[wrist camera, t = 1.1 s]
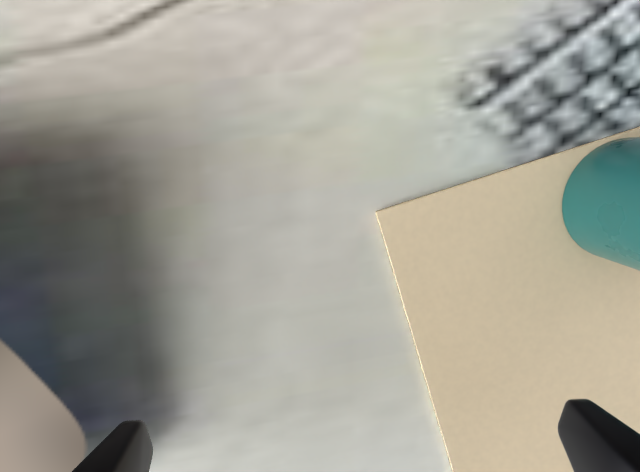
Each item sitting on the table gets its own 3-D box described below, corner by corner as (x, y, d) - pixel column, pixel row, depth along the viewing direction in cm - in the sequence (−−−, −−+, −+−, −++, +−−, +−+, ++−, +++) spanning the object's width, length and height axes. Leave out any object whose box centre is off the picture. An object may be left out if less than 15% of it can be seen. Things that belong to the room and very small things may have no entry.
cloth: (725, 441, 25) (729, 444, 25) (465, 514, 26) (467, 518, 26) (679, 113, 21) (684, 112, 21) (375, 211, 22) (376, 212, 22)
